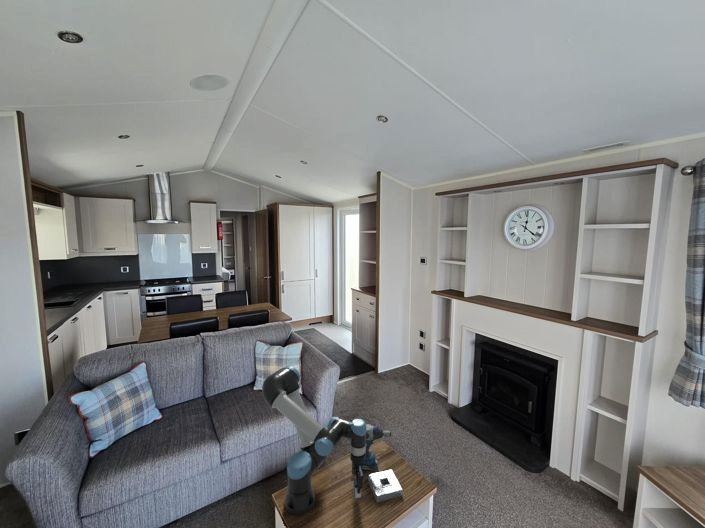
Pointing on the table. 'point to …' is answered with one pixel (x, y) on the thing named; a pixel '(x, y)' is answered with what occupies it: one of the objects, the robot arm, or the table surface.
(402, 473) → the table surface
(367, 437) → the impact wrench
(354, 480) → the flashlight
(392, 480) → the socket block
